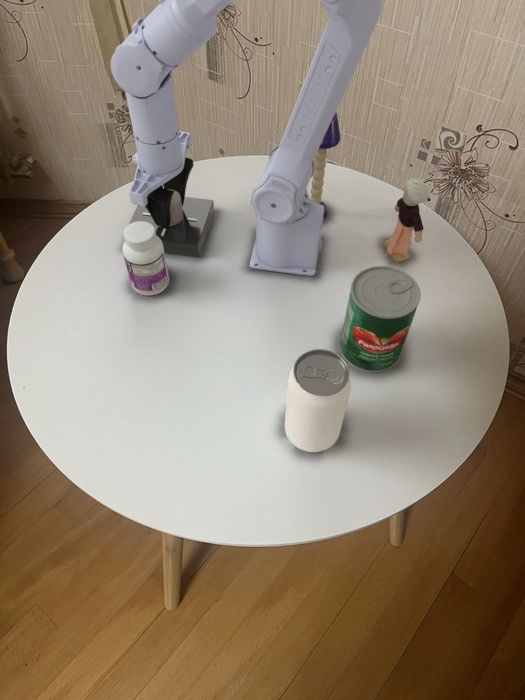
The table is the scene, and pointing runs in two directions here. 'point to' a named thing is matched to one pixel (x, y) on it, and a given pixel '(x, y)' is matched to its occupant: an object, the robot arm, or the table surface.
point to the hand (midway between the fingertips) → (169, 214)
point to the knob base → (183, 227)
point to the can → (316, 400)
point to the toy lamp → (324, 162)
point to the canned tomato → (378, 318)
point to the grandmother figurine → (407, 220)
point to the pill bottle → (145, 258)
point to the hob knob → (176, 209)
